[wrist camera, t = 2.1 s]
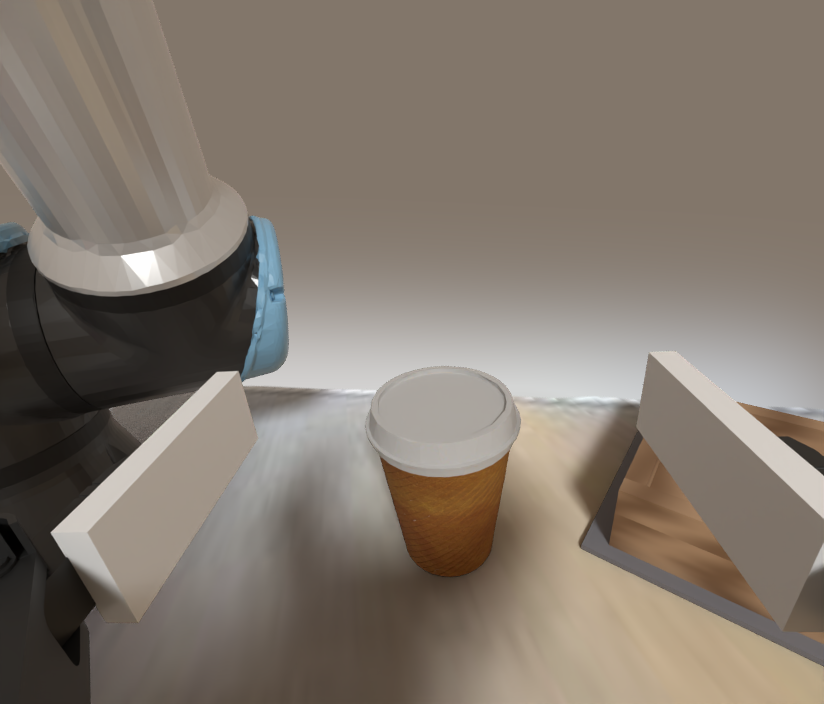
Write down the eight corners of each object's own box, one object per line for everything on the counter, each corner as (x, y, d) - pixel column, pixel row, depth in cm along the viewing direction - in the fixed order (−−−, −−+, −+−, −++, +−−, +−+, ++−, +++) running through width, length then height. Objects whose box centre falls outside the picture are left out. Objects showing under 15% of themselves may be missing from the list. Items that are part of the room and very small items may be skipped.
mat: (580, 548, 29) (581, 544, 29) (641, 425, 41) (642, 421, 40) (996, 749, 18) (1001, 745, 18) (918, 505, 30) (920, 501, 30)
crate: (608, 545, 29) (618, 489, 27) (657, 432, 39) (667, 385, 37) (943, 699, 20) (998, 635, 18) (892, 501, 30) (923, 445, 28)
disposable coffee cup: (356, 556, 30) (329, 417, 25) (429, 475, 37) (420, 352, 32) (477, 631, 25) (474, 473, 19) (535, 520, 32) (545, 382, 26)
